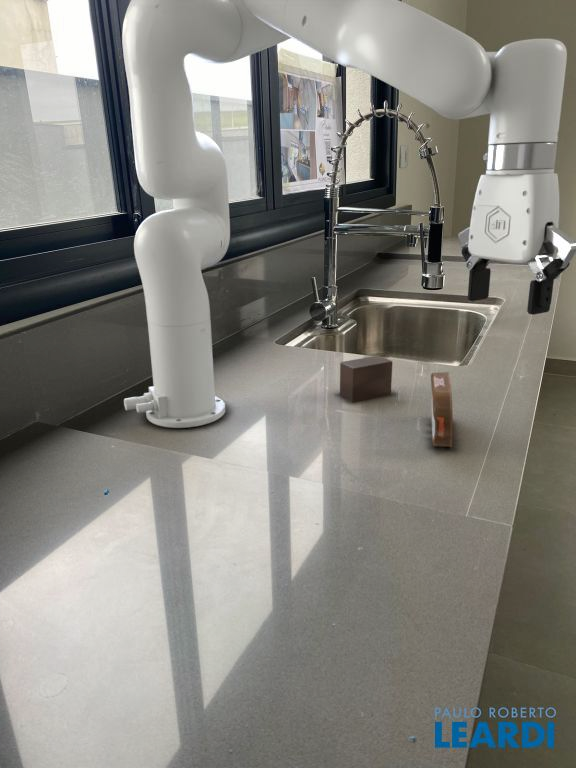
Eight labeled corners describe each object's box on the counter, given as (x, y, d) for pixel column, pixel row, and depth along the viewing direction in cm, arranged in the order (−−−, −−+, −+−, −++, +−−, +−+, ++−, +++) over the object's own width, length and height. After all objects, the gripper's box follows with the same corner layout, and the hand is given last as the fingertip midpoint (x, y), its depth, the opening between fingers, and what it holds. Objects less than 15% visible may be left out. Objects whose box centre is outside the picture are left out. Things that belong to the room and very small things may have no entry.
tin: (452, 457, 81) (457, 399, 79) (428, 456, 82) (432, 398, 79) (447, 415, 95) (451, 364, 93) (427, 414, 96) (430, 363, 93)
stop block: (352, 402, 101) (353, 368, 99) (339, 395, 105) (340, 362, 103) (391, 394, 105) (392, 361, 103) (377, 387, 108) (378, 355, 106)
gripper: (444, 163, 76) (436, 298, 82) (562, 159, 62) (543, 323, 67) (487, 162, 79) (477, 292, 85) (609, 158, 65) (587, 314, 71)
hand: (506, 305), depth 76 cm, fingers open, 9 cm apart
